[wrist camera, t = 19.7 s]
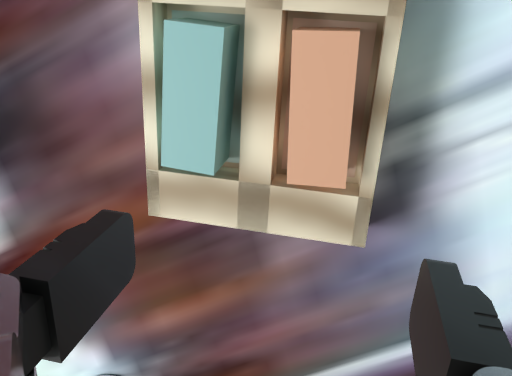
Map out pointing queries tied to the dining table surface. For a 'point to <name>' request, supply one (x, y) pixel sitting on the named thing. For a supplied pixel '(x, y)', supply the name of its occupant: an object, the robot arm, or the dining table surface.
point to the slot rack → (273, 119)
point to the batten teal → (198, 93)
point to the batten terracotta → (321, 105)
